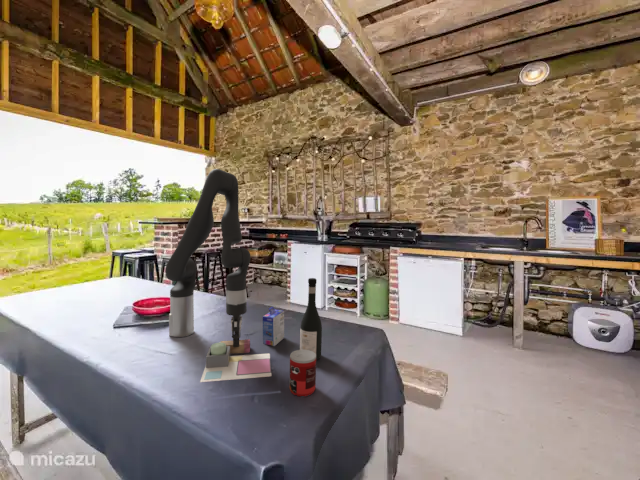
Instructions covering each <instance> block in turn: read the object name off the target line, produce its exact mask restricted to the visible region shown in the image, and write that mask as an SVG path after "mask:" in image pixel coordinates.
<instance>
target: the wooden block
mask: <svg viewBox="0 0 640 480" xmlns="http://www.w3.org/2000/svg"><path fill="white" fill-rule="evenodd" d="M220 342H222V343H225V344H226V346H230V355H232V354H234V355H235V354H247V353H248V354H249V353H250V352H251V339H250V338H248V339H239V347H233V340H220Z"/></svg>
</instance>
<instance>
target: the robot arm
mask: <svg viewBox="0 0 640 480" xmlns="http://www.w3.org/2000/svg"><path fill="white" fill-rule="evenodd" d="M217 194H218V195H222V196H224V198H225V201H226V202H225V203H226V206H225V209H224V212H223V214H222V217H221V219H220V227H221V236H222V250H221V256H220V261H221V264H222V266H224V267H225V268H227V269H231V268H237V270H236V271H234V272H231V273H229V274H227V275H226V293H225V306H226V309H225V313H226V314H227V315H228V316H231V319H230V324H231V327H230V328H231V329H230V330H231V338H232V341H233V347H239V340H240V338H241V331H242V325H243V315H244V314H246V313H247V312H248V310H247V309H248V306H247V305H248V299H247V298H248V297H247V296H248V295H247V275H248V274H247V273H248V270H249V266H250V264H251V253H250V250H249V249H247V248H245V247H238V248H237V247H236V248H235V247H234V248H232V246H233V245H237V244H238V243H241V242H242V240H243V236H242V229H241V224H240V216H239V203H240V202H239V182H238V178H237V176H235V174H232V173H230V172H227V171H225V170H222V169H220V168H213V169H211V171H209V173H208V175H207V177H206V179H205V182H204V185H203V187H202V191H201V193H200V195H199V196H200V197H199V198H198V201H197V204H196V206H195V208H194V210H193V212H192V215H191V217H190V218H189V220H188V223H187V224H186V227H185V230H184V232H183V234H182V236H181V239H180V241H179V242H178V243H177V246H176V249H175V250H174V251H173V253H172V255H171V256H170V257H169V259H168V261H167V263H166V265H165V268H164V269H165V270H164V271H165V276H166V278H167V279H168V280H169V281H170V282H176V283H175V284H174V285H173V286H172V287H171V289H170V290H169V296H170V297H169V298H170V299H169V301H170V303H169V304H170V307H169V308H170V309H169V310H170V311H169V312H170V313H169V314H168V336H169V337H175V338H184V337H188V336H191V335H193V334H194V332H195V320H194V319H195V316H194V315H195V312H194V310H195V308H194V305H195V304H194V303H195V302H194V300H195V299H194V291H195V289H196V283H197V282H196V280H197V267H196V264H195V261H194V260H193V258H191V257H192V256H193V254H194V253H195V252H196V251H197V250H198V249H199V248H200V247H201V246H202V245H203V244H204V243H205V242H206V241H207V239H208V237H209V236H210V235H211V232H212V230H213V227H214V224H215V221H214V218H215V217H214V212H213V203H214V201H215V198H216V196H217Z"/></svg>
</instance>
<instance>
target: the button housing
mask: <svg viewBox="0 0 640 480" xmlns="http://www.w3.org/2000/svg"><path fill="white" fill-rule="evenodd" d="M230 356H231V354H230V346H226V354H225V355H211V346H210V347H208V350H207V353H206V356H205V366H206V368H215V367H228V365H229V360H230Z"/></svg>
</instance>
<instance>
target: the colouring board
mask: <svg viewBox="0 0 640 480" xmlns="http://www.w3.org/2000/svg"><path fill="white" fill-rule="evenodd" d="M271 363H272V362H271V353H257V354H244V355H242V354H241V355H230V360H229V365H228V367H215V368H206V365H205V366H204V370H203V372H202V375H201V378H200V381H199V383H206V382H207V383H208V382H210V383H211V382H219V381H220V382H221V381H229V380H230V381H232V380H242V379H243V380H244V379H254V378H255V379H256V378H265V377H267V378H269V377H272V364H271Z"/></svg>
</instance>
